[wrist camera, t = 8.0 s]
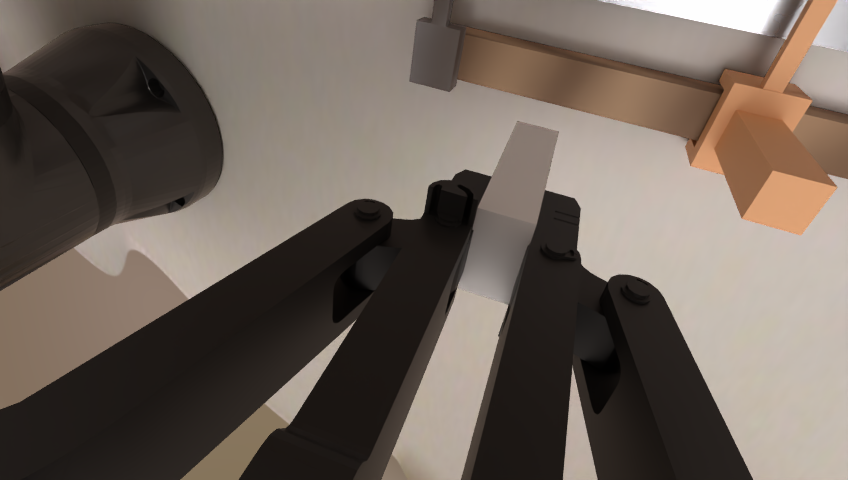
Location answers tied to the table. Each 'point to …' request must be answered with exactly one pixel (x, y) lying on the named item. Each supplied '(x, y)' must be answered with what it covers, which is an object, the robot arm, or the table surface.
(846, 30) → the metal board
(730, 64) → the table surface
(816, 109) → the beam
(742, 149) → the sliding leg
